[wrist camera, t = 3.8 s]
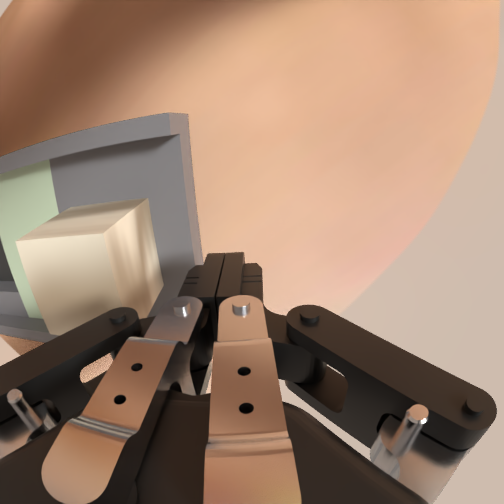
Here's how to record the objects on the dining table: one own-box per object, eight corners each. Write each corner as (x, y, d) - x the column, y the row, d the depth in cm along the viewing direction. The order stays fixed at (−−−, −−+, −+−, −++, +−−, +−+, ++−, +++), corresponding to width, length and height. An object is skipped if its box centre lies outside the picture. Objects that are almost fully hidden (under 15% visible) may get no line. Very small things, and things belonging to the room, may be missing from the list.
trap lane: (-42, 177, 16) (-70, 189, 12) (187, 114, 15) (169, 112, 11) (-3, 308, 21) (-23, 328, 18) (211, 320, 20) (204, 356, 17)
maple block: (70, 207, 15) (15, 241, 10) (148, 197, 15) (102, 233, 10) (90, 285, 17) (50, 334, 12) (163, 285, 17) (134, 342, 12)
